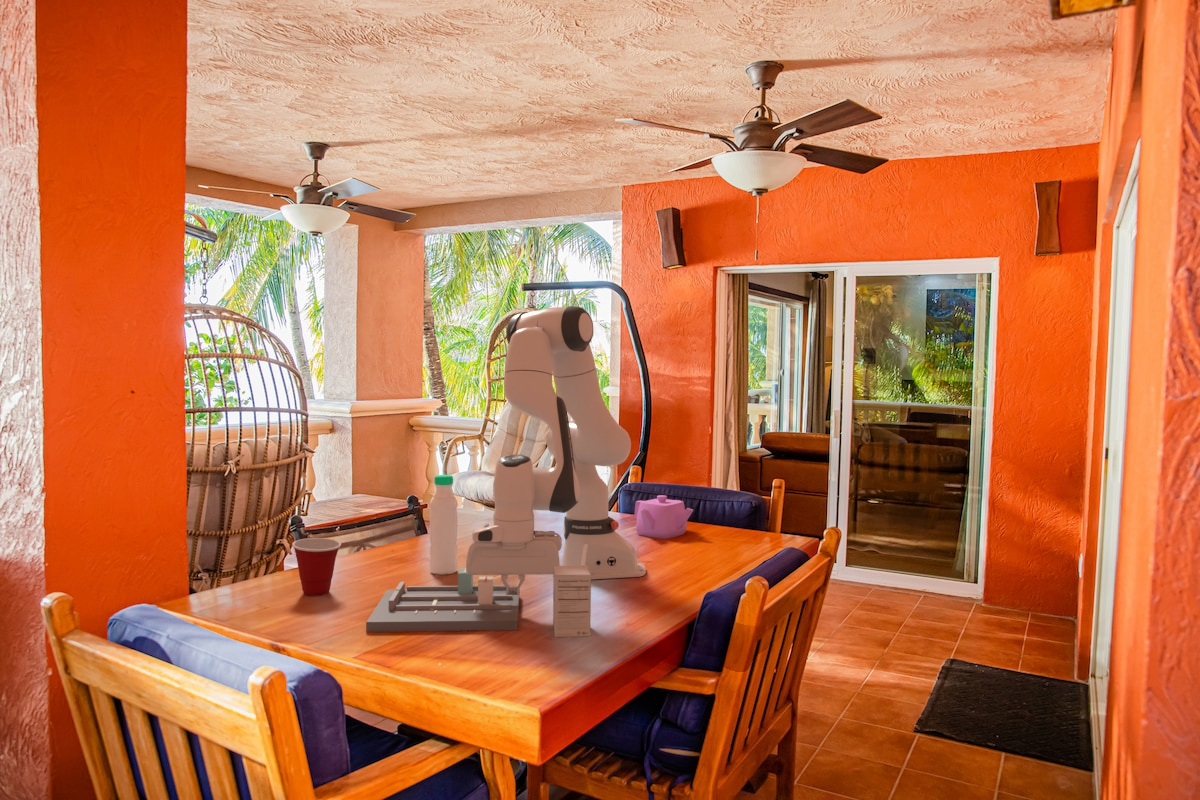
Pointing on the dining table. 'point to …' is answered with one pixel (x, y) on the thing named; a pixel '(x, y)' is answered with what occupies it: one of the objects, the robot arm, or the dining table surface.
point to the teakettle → (661, 517)
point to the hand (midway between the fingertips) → (513, 594)
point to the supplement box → (571, 601)
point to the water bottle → (443, 527)
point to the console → (442, 610)
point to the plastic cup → (316, 564)
